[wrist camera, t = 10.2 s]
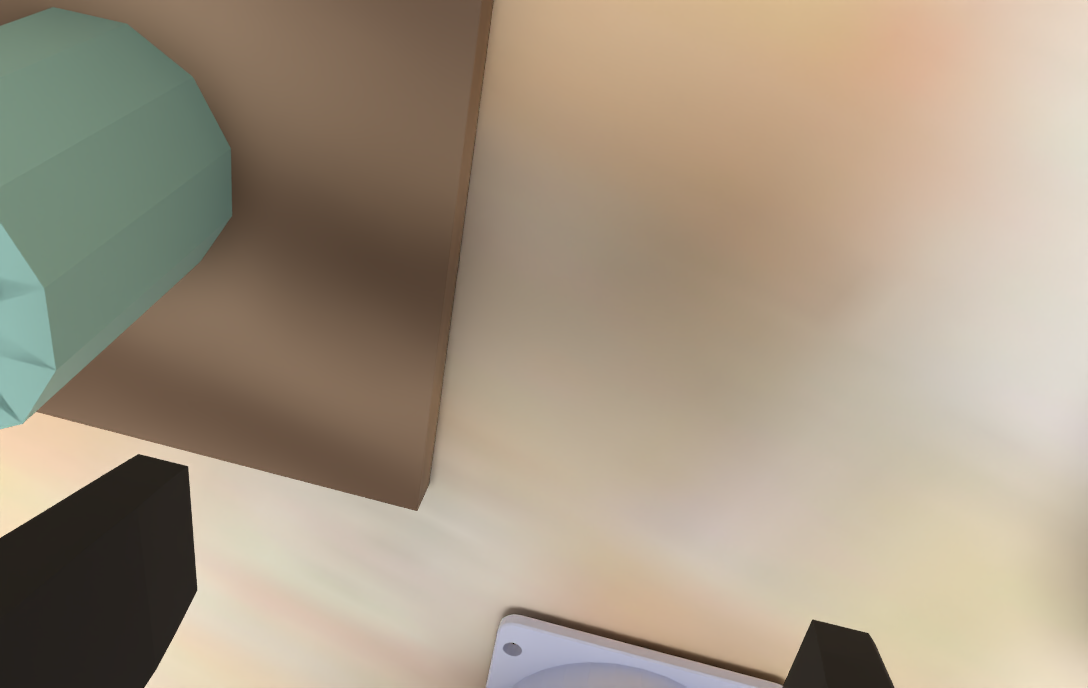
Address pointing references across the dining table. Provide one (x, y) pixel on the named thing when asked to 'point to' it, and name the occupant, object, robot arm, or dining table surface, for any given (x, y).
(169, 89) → the teal roll
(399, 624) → the dining table surface
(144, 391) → the brown square base plate
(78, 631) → the robot arm
